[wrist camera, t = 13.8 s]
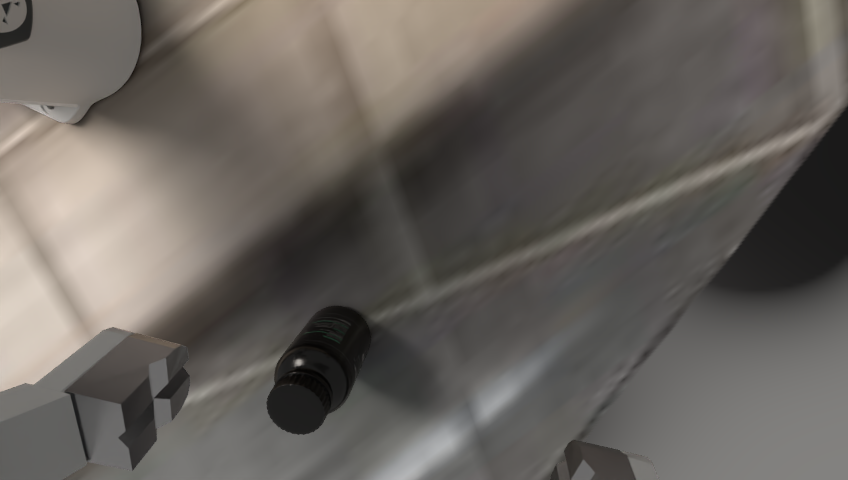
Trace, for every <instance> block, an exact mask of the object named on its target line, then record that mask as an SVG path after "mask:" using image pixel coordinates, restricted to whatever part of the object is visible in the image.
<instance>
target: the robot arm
mask: <svg viewBox="0 0 848 480" xmlns="http://www.w3.org/2000/svg"><path fill="white" fill-rule="evenodd" d="M140 46H141V20H140V14H139V9H138V5H137V1H136V0H0V102H3V103H18V104H22V105H24V106H27V107H29V108H31V109H33V110H35V111H37V112H39V113H41V114H43V115H45V116H47V117H49V118H52V119H54V120H56V121H58V122H61V123H69V124H74V123H77V122H78V121H80V120H81V119H82V117H83V116H84V115H85V113H86V112H87V111H88V109H89V108H90V106H91V105H92V104H94V103H95V102H97V101H99V100H101V99H103V98H106V97H108V96H110V95H111V94H113V93H115V92H116V91H117V90H118V89H120V88H121V87H122V86H123V85H124V84H125V82H126V81H127V80H128V79H129V77H130V76H131V74H132V72H133V70H134V68H135V66H136V63H137V60H138V56H139V52H140ZM54 106H55V107H54ZM188 360H189V358H188V350H187V347H185V346H182V345H179V344H175V343H172V342H168V341H164V340H161V339H157V338H153V337H150V336H146V335H142V334H138V333H134V332H130V331H126V330H122V329H118V328H115V327H112V328H109V329H106V330H103V331H102V332H100V333H99V334H98V335H96V336H95V337H94V338H93V339H91V340H90V341H89V342H88V343H86V344H85V345H84V346H82V347H81V348H80V349H79V350H77V351H76V352H75V353H74V354H72V355H71V356H70V357H68V358H67V359H66V360H65V361H63V362H62V363H61V364H60V365H58V366H57V367H56V368H54V369H53V370H52V371H51V372H49V373H48V374H47V375H46V376H44V377H43V378H42V379H41V380H39V381H38V382H37V383H35V384H34V385H32V384H27V383H25V384H22V385H19V386H16V387H13V388H11V389H8V390H5V391H2V392H0V480H62V479H64V478H66V477H67V476H69V475H71V474H72V473H74V472H76V471H77V470H79V469H81V468H82V467H84V466H86V465H87V462H91V463H96V464H101V465H106V466H110V467H115V468H120V469H125V470H129V471H133V470H134V468H135V467H136V466H137V465H138V463H139V462H140V461H141V460H142V458H143V457H144V456H145V455H146V453H147V452H148V451H149V450H150V448H151V447H152V446H153V444H154V443H155V442H156V441H157V428H159V427H161V426H163V425H165V424H167V423H169V422H171V421H172V420H173V419H174V418H175V416H176V415H177V414H178V412H179V411H180V410H181V408H182V406H183V404H184V402H185V400H186V398H187V395H188V391H189V387H190V375H189V374H188V373H187V371H186V370H185V369H184V368H183V366H184V364H185V363H186V362H187V361H188ZM564 452H565V457H566V460H565V461H563V462H561V463H559V464H556V466H555V468H554V470H553V472H552V474H551V479H550V480H659V477H658V475H657V473H656V470H655V468H654V465H653V464H652V462H651V461H650V460H649V459H648V457H645V456H641V455H637V454H632V453H628V452H624V451H620V450H616V449H612V448H608V447H604V446H599V445H595V444H590V443H586V442H582V441H578V440H572V441H571V442H569V443H568V445H567V447H566V448H565V450H564Z"/></svg>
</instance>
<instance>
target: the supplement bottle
mask: <svg viewBox="0 0 848 480" xmlns="http://www.w3.org/2000/svg"><path fill="white" fill-rule="evenodd" d="M370 343H371V334H370V330H369V327H368V325H367V323H366V321H365V320H364V319H363V318H362V317H361V316H360V315H359V314H358V313H357V312H355V311H353V310H351V309H349V308H346V307H342V306H331V307H327V308H324V309H322V310H320V311H318V312H317V313H316V314H315V315H314V316H313V317H312V318H311V319H310V321H309V322H308V323H307V324H306V326H305V327H304V328H303V329H302V331H301V332H300V333H299V335H298V336H297V337H296V338H295V340H294V341H293V342H292V344H291V345H290V346H289V347H288V349H287V350H286V351H285V353H284V354H283V355H282V357H281V358H280V360H279V361H278V363H277V365H276V368H275V373H274V381H275V385H274V387H273V389H272V390H271V392H270V394H269V396H268V398H267V410H268V414H269V415H270V418H271V419H272V420H273V422H274V423H275V424H276V425H277V426H278V427H280V428H281V429H282V430H285V431H287V432H290V433H292V434H298V435H299V434H303V435H304V434H309V433H310V432H314V431H315V430H316V429H318V428H319V427H320V426H321V425H322V424H323V422H324V420H325V418H326V416H327V415H328V414H329V413H332V412H334V411H335V410H337V409H338V408H340V407H341V406H342V405H343V404H344V403H345V401H346V400H347V398H348V396H349V394H350V392H351V390H352V388H353V385H354V383H355V381H356V378H357V376H358V374H359V371H360V369H361V367H362V364H363V362H364V360H365V357H366V355H367V352H368V350H369V347H370Z"/></svg>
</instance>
